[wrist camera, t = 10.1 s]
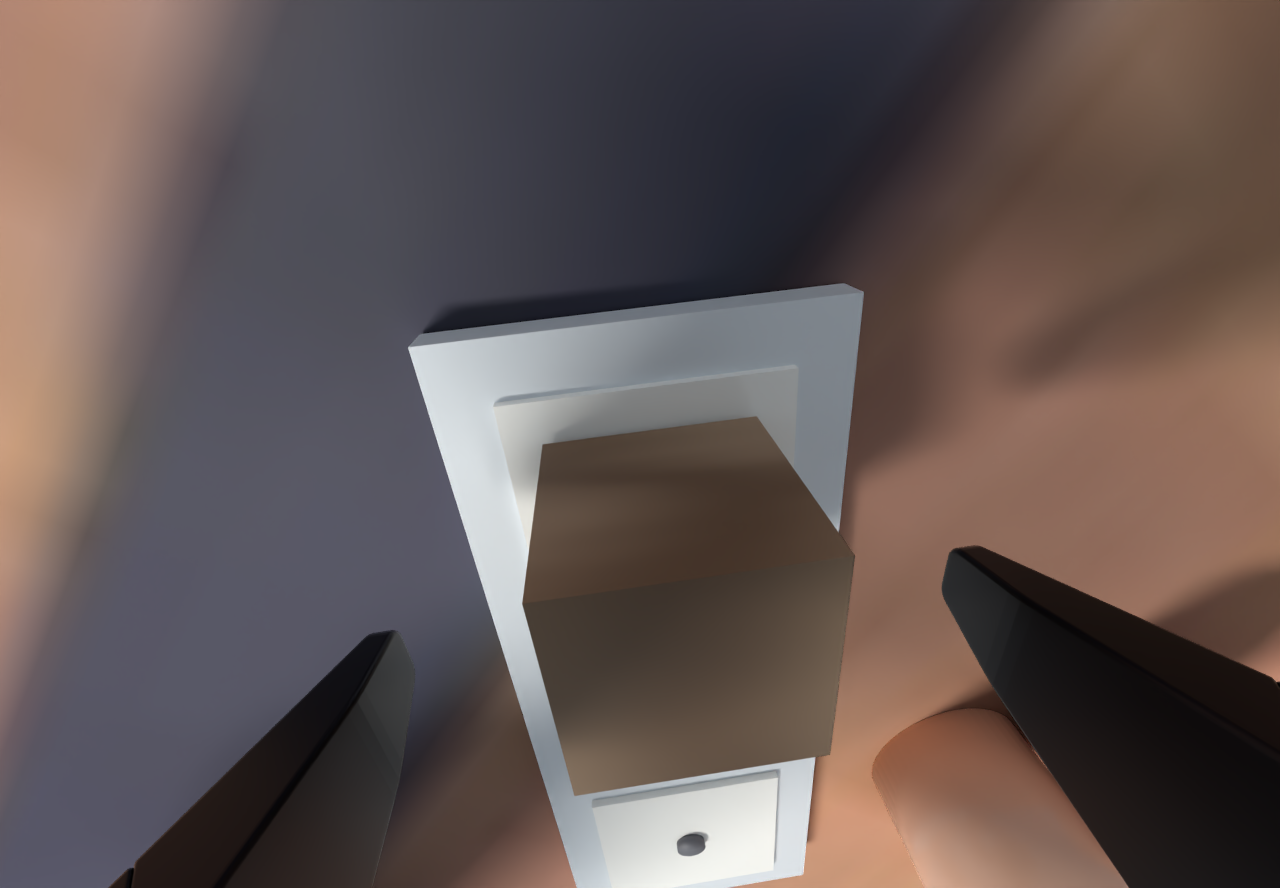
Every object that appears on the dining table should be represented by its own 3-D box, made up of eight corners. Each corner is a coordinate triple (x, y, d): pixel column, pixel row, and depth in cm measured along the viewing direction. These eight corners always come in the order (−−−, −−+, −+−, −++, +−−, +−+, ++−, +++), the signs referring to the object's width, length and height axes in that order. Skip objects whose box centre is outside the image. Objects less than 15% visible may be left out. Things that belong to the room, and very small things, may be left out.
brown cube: (575, 604, 12) (574, 795, 8) (542, 444, 10) (522, 604, 6) (754, 578, 12) (829, 754, 8) (757, 416, 10) (854, 555, 6)
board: (584, 885, 20) (584, 926, 19) (420, 334, 10) (401, 354, 9) (795, 849, 20) (807, 887, 19) (844, 283, 10) (874, 296, 9)
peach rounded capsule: (864, 808, 19) (948, 997, 15) (880, 721, 17) (986, 917, 13) (996, 785, 20) (1117, 966, 15) (1030, 697, 17) (1186, 881, 13)
